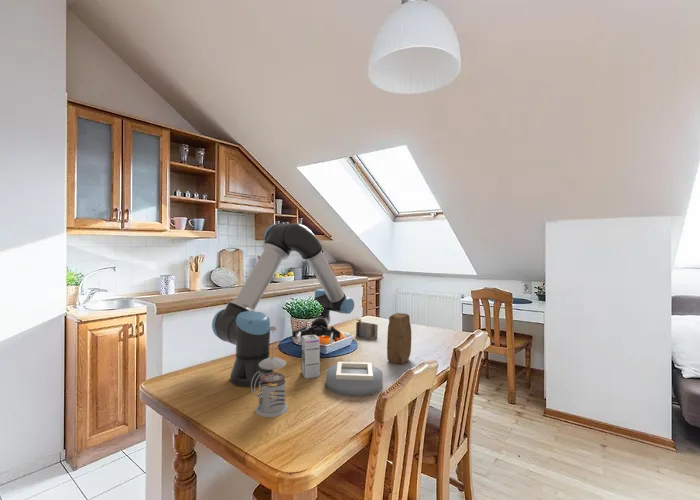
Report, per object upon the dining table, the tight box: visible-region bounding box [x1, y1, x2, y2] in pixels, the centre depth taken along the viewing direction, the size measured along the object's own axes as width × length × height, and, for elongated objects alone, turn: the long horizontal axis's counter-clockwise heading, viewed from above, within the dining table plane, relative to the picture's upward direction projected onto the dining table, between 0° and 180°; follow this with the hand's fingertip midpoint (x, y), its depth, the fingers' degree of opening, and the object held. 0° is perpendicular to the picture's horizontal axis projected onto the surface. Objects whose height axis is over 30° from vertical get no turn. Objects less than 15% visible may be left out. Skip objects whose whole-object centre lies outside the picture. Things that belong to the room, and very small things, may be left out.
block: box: [386, 312, 412, 365], centre depth 147 cm, size 11×8×20 cm
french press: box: [250, 325, 289, 418], centre depth 102 cm, size 10×12×25 cm
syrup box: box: [301, 335, 321, 379], centre depth 129 cm, size 6×6×14 cm
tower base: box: [325, 361, 384, 397], centre depth 123 cm, size 20×20×6 cm
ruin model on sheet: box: [355, 318, 379, 340], centre depth 181 cm, size 11×3×10 cm, turn 59°
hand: (314, 340), depth 139 cm, fingers open, 13 cm apart
